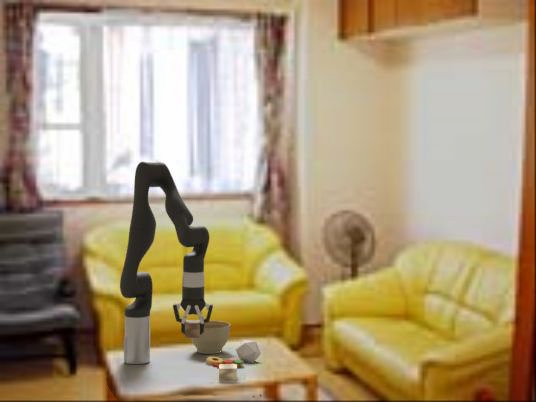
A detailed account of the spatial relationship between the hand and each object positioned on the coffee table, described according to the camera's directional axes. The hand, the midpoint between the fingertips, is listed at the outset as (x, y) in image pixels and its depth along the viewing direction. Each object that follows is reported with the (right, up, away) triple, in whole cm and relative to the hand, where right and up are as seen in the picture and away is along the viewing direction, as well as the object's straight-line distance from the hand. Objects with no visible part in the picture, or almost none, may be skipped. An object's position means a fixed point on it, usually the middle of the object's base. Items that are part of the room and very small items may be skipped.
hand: (192, 333), depth 290 cm
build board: (+12, -16, -1) cm, 20 cm away
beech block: (+12, -15, -1) cm, 19 cm away
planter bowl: (+3, -14, +42) cm, 44 cm away
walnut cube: (0, -1, 0) cm, 1 cm away
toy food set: (+11, -15, +18) cm, 26 cm away
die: (+18, -15, +26) cm, 35 cm away
